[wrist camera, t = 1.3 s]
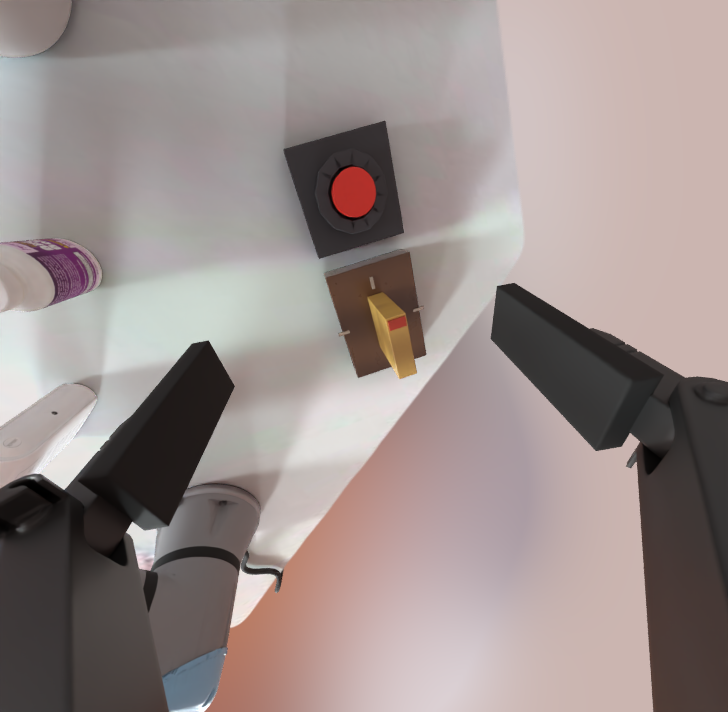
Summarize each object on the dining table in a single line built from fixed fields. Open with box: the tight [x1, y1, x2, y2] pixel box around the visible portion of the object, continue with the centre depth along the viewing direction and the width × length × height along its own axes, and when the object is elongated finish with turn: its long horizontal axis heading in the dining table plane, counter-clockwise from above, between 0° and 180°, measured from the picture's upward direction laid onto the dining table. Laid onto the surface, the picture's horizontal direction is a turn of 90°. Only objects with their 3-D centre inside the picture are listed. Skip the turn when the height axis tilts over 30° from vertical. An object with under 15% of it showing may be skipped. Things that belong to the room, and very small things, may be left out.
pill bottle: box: [0, 238, 102, 312], centre depth 23 cm, size 5×5×10 cm
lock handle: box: [367, 292, 417, 379], centre depth 30 cm, size 7×2×8 cm, turn 14°
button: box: [331, 167, 376, 217], centre depth 26 cm, size 4×4×2 cm
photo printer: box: [0, 384, 98, 488], centre depth 29 cm, size 10×4×12 cm, turn 137°
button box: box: [284, 121, 404, 259], centre depth 28 cm, size 10×10×4 cm
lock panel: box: [324, 249, 426, 378], centre depth 35 cm, size 14×11×3 cm
